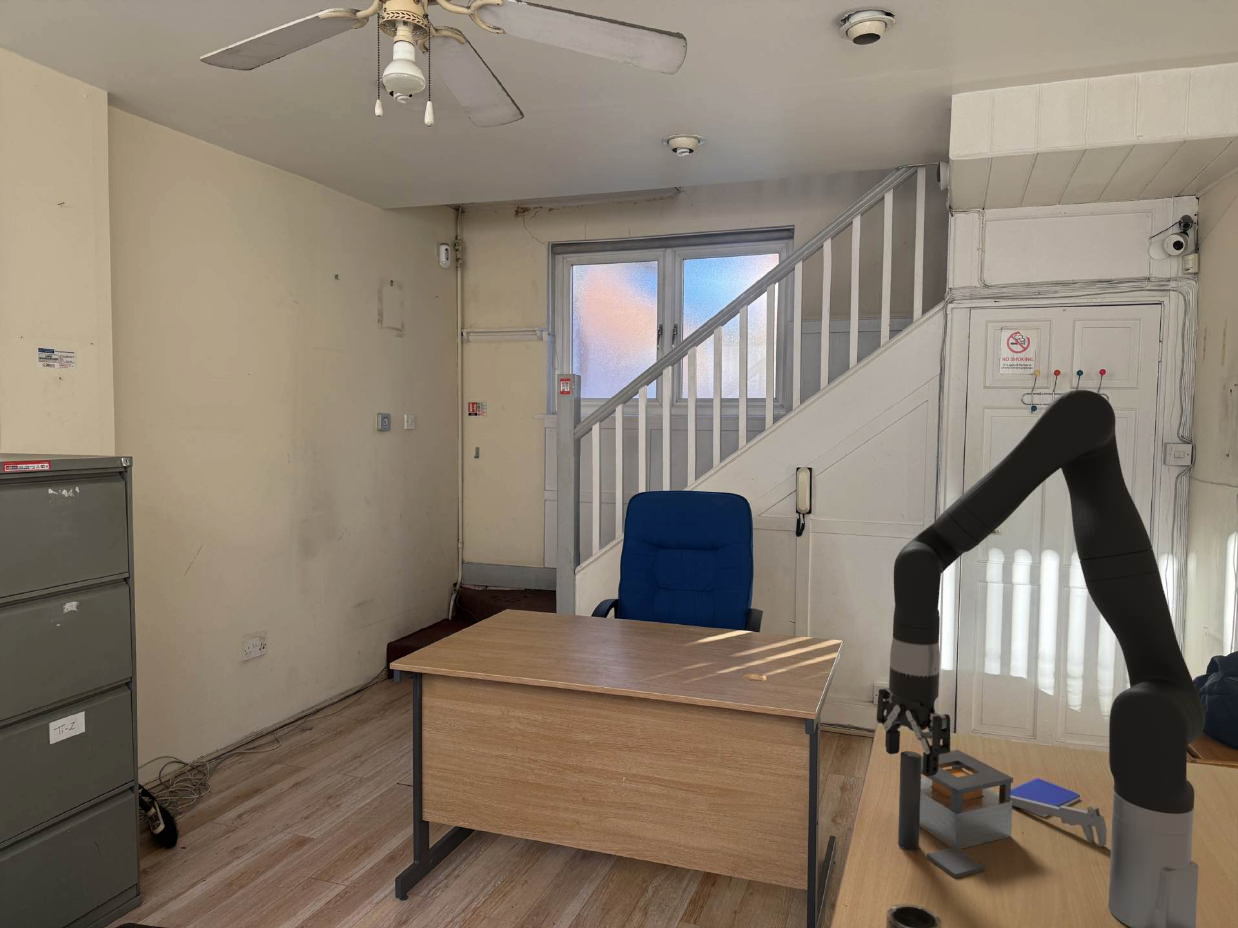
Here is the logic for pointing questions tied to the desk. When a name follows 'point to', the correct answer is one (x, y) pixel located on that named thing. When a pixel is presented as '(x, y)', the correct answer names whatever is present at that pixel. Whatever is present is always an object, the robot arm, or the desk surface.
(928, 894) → the desk surface
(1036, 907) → the desk surface
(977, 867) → the pad
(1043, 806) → the caliper
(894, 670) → the robot arm
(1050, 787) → the hard drive
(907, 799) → the handle
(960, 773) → the button
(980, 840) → the grey boxy frame
